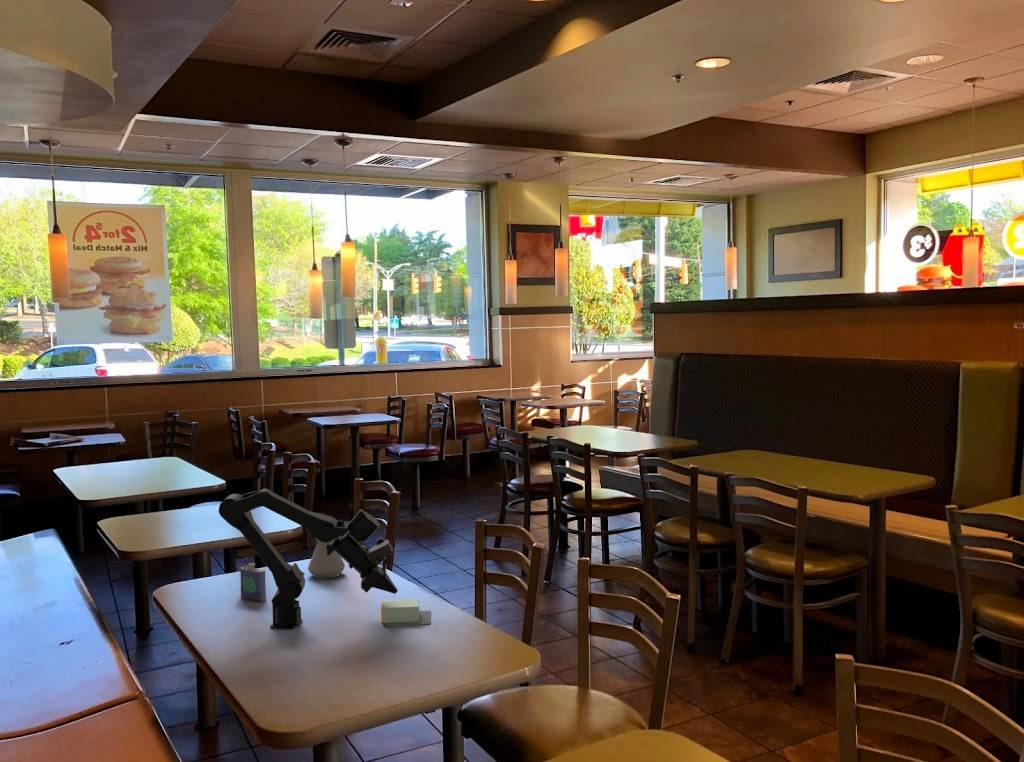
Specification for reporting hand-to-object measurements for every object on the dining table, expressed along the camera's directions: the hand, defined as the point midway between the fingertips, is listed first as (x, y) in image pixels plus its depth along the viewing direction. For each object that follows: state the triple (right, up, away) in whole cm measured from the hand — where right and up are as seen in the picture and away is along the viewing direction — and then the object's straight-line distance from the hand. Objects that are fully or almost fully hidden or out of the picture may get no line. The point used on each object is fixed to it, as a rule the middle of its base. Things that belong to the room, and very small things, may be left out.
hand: (396, 592), depth 231 cm
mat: (+3, -8, +1) cm, 8 cm away
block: (-4, -5, 0) cm, 7 cm away
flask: (-45, -7, +20) cm, 49 cm away
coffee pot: (-25, -5, +38) cm, 46 cm away
